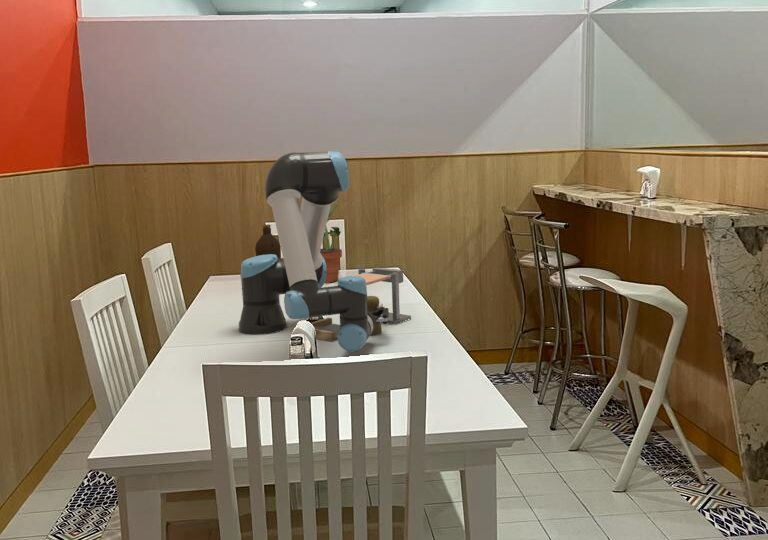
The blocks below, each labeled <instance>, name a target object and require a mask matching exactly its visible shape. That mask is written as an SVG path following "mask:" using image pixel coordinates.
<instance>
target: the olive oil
mask: <svg viewBox="0 0 768 540" xmlns="http://www.w3.org/2000/svg"><path fill="white" fill-rule="evenodd" d="M254 250H255V256H260V255H268V254H274V255H276V256H277V257H278V259H279V258H282V250H281V246H280V241H279V239H277V238H276V237H275V235H273V234H272V228H271V224H262V235H261V236H260V237H259V239H258V240H257V242H256V243H255V249H254Z"/></svg>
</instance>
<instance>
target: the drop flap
mask: <svg viewBox="0 0 768 540" xmlns="http://www.w3.org/2000/svg"><path fill="white" fill-rule="evenodd" d="M393 272H397V273H398V274H399V284H402V283H404V270H403V269H395V268H386V267H374V268H372V271H367V272H365V273H362V274H359V273H358V274H355V275H354V276H360V277H363V278H364V279H365V281H366V286H369V285H372V284H375V283H379V282H384V283H391V284H392V273H393Z"/></svg>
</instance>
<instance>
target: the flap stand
mask: <svg viewBox="0 0 768 540" xmlns="http://www.w3.org/2000/svg"><path fill="white" fill-rule="evenodd" d="M357 272H358V274H362V273H366V268H360V269H358V271H357ZM391 297H392V298H391V300H392V302H391V304H392V312H390V311H389V317H388V319H387V322H388V324H387V325H392V324H396V325H398V324H397V323H399V324H401V323H404V322H406V321H405V320H407V321H409V320H408V319H410V320H412V315H409V314H401V313H400V283H399V274H398V273H397V272H393V273H392V283H391ZM403 321H404V322H403ZM400 322H401V323H400Z"/></svg>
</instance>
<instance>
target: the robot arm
mask: <svg viewBox="0 0 768 540" xmlns="http://www.w3.org/2000/svg"><path fill="white" fill-rule="evenodd" d="M264 184H265V186H264V192H265V200H266V204H267V205H268V206H270V207H271V210H272V214H273V219H274V222H275V223H274V224H275V227H276V228H275V229H276V231H277V237H278V241H279V243H280V246H281V256H282V257H281V258H279V259H278V257H277V256H276V255H274V254H268V255H260V256H256V255H255V256H252V257H249V258H246V259H244V260H243V261H241V264H240V279H241V292H242V293H241V294H242V310H241V314H240V319H239V322H238V330H239V332H240V333H243V334H248V333H249V334H250V335H263V334H264V333H266V334H272V332H273V333H276V331H278V332H280V330H281V331H282V330H285V329H287V318H286V317H285V315H284V311H283V309H282V307H281V302H280V295H284V296H283V302H284V310H285V314H286V316H287V317H288V319H292V320H304V319H305V320H306V319H310V318H317V317H323V316H324V317H325V316H335V315H339V325H340V330H339V333H338V340H337V342H338V344H339V346H340V347H341V348H342V350H345V351H346V352H351V353H352V352H353V353H354V352H357V351H360V350H361V349H362V348H363V347H364V346H365V345H366V343H367V342H368V340H369V338H370V336H371V335H372V334H371V333H372V332H373V330H374V328H375V326H376V324H378V323H379V322H381V323H380V324H384V325H388V324H387V323H388V322H387V319H388V317H389V312H390V311H389V308H388V307H386V308H385V306H384V303H383V302H380V301H379V306H378V307H377V310H375V311H374V312H372V311H371V312H369V311H367V296H368V289H367V285H366V281H365V279H364V278H363V277H360V276H355V275H345V276H342V277H338V280H337V285H334V286H324V285H325V284H326V283H325V280H326V271H327V267H326V262H325V260H324V258H323V257H322V255H321V254H320V249H322V244H323V240H324V237H325V236H324V232H325V228H326V226H327V223H328V222H327V219H328V215H329V210H330V207H331V206H332V205H334V203H335V202H337V200H338V198H339V195H340V192H341V193H344V192H346V191H347V190H349V187H350V173H349V167H348V164H347V160H346V158H345V156H344V155H343V154H342V153H341V152H339V151H329V150H326V151H309V152H289V153H285V154H283V155H281V156H279V158H278V159H276V160H275V161H274V163H273V164H272V166H271V167H270V168H269V170H268V173H267V175H266V179H265V183H264ZM301 198H302V199H301ZM300 200H301V205H300ZM284 328H285V329H284ZM264 335H265V334H264Z"/></svg>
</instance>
